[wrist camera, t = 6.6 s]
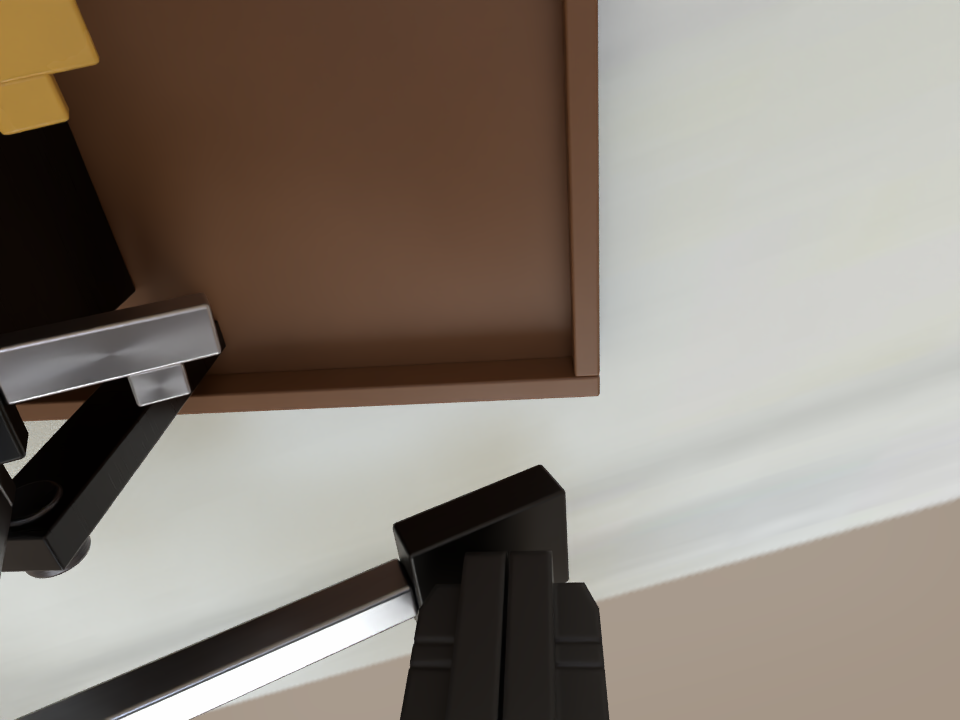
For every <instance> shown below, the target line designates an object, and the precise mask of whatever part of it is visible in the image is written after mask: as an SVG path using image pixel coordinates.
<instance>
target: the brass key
mask: <svg viewBox="0 0 960 720" xmlns="http://www.w3.org/2000/svg"><path fill="white" fill-rule="evenodd" d="M97 63H99V55H98V52H97V50H96V48H95V45H94V43H93V41H92V38H91V36H90V33H89V31H88V29H87V26H86V24H85V22H84V19H83V17H82V14H81V12H80V10H79V7H78V5H77V3H76V0H0V132H1V133H2V134H3V135H12V134H16V133H20V132H24V131H28V130H33V129H37V128H41V127H45V126H49V125H54V124H58V123H62V122H66V121H67V120H69V108H68V106H67V104H66V101H65V99H64V97H63V95H62V93H61V91H60V88H59V86H58V84H57V82H56V80H55V78H54V75H53V74H55V73H60V72H65V71H69V70H74V69H79V68H83V67H88V66H93V65H96V64H97Z"/></svg>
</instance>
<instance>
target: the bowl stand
mask: <svg viewBox="0 0 960 720" xmlns="http://www.w3.org/2000/svg"><path fill="white" fill-rule="evenodd" d="M133 293H135V287H134V285H133V283H132V280H131V278H130V275H129V273H128V270H127V268H126V265H125V263H124V260H123V258H122V255H121V253H120V250H119V248H118V245H117V243H116V240H115V238H114V235H113V233H112V230H111V228H110V225H109V223H108V220H107V218H106V215H105V213H104V210H103V208H102V206H101V203H100V201H99V198H98V196H97V193H96V191H95V188H94V186H93V183H92V181H91V178H90V176H89V173H88V171H87V168H86V166H85V163H84V161H83V158H82V156H81V153H80V151H79V148H78V146H77V143H76V141H75V138H74V136H73V133H72V131H71V128H70V126H69V124H68V121H66V122H62V123H58V124H54V125H49V126H45V127H41V128H37V129H33V130H28V131H24V132H20V133H16V134H12V135H3V134H2V133H1V132H0V334H5V333H10V332H14V331H19V330H24V329H29V328H34V327H38V326H43V325H48V324H53V323H57V322H62V321H67V320H72V319H77V318H81V317H86V316H91V315H96V314H101V313H105V312H110V311H115V310H116V309H117V308H118V307H119V306H120V305H122V304H123V303H124V302H125V301H126V300H127V299H128V298H129V297H130V296H131V295H132V294H133ZM214 323H215V326H216V330H217V334H218V338H219V342H220V346H221V353H222V351H223V350H224V349H225V347H226V345H225V342H224V339H223V336H222V333H221V330H220V327H219V324H218V321H217V320H214ZM221 353H220V354H221ZM220 354H218V355H214V356H210V357H206V358H202V359H198V360H194V361H189V362H185V363H184V366H185V370H186V373H187V376H188V380H189V384H190V388H191V393H190V394H188V395H184V396H180V397H176V398H172V399H168V400H165V401H161V402H157V403H153V404H149V405H145V406H138V405H137V403H136V400H135V397H134V394H133V391H132V389H131V386H130V383H129V380H128V377H124V378H120V379H115V380H111V381H107V382H103V383H102V384H101V385H100V386H99V387H98V388H97V389H96V390H95V391H94V393H93V394H92V395H91V396H90V397H89V398H88V399H87V400H86V401H85V402H84V403H83V404H82V405H81V406H80V407H79V409H78V410H77V411H76V412H75V413H74V414H73V415H72V416H71V417H70V418H69V419H68V420H67V421H66V422H65V423H64V425H63V426H62V427H61V428H60V429H59V430H58V431H57V432H56V433H55V434H54V435H53V436H52V437H51V438H50V439H49V441H48V442H47V443H46V444H45V445H44V446H43V447H42V448H41V449H40V450H39V451H38V452H37V453H36V454H35V455H34V457H33V458H32V459H31V460H30V461H29V462H28V463H27V464H26V465H25V466H24V467H23V468H22V469H21V470H20V471H19V473H18V474H17V475H16V476H15V477H14V478H13V479H12V480H13V482H14V483H15V485H16V492H15V498H14V504H13V507H12V514H11V520H10V526H9V531H8V537H7V543H6V548H5V554H4V560H3V566H2V571H1V572H15V571H26V573H27V574H29V575H30V576H33V577H35V578H50V577H54V576H57V575H60V574H62V573H64V572H66V571H68V570H70V569H71V568H73V567H74V566H76V565H77V564H78V563H79V562H80V561H81V560H82V559H83V558H84V557H85V556H86V555H87V553H88V551H89V549H90V544H91V539H90V536H89V535H90V534H91V532H92V531H93V530H94V528H95V527H96V525H97V524H98V523H99V521H100V520H101V519H102V517H103V516H104V514H105V513H106V512H107V510H108V509H109V507H110V506H111V505H112V503H113V502H114V501H115V499H116V498H117V496H118V495H119V494H120V492H121V491H122V490H123V488H124V487H125V485H126V484H127V483H128V481H129V480H130V478H131V477H132V476H133V474H134V473H135V472H136V470H137V469H138V467H139V466H140V465H141V463H142V462H143V460H144V459H145V458H146V456H147V455H148V454H149V452H150V451H151V449H152V448H153V447H154V445H155V444H156V443H157V441H158V440H159V438H160V437H161V436H162V434H163V433H164V431H165V430H166V429H167V427H168V426H169V425H170V423H171V422H172V420H173V419H174V418H175V416H176V415H177V414H178V412H179V411H180V409H181V408H182V407H183V405H184V404H185V402H186V401H187V400H188V398H189V397H190V396H191V394H192V393H193V391H194V390H195V389H196V387H197V386H198V384H199V383H200V382H201V380H202V379H203V378H204V376H205V375H206V373H207V372H208V371H209V369H210V368H211V367H212V365H213V364H214V362H215V361H216V360H217V358H218V357H219V355H220Z"/></svg>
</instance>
